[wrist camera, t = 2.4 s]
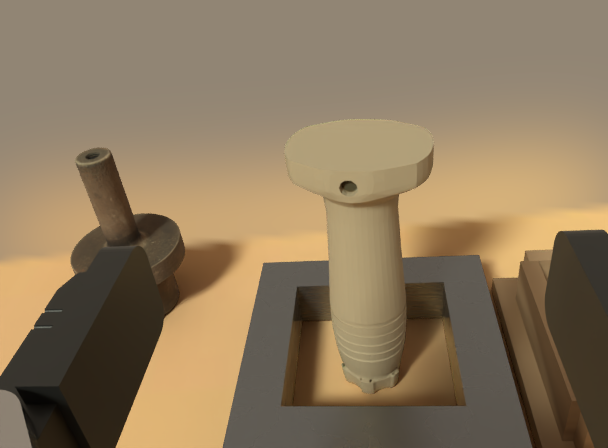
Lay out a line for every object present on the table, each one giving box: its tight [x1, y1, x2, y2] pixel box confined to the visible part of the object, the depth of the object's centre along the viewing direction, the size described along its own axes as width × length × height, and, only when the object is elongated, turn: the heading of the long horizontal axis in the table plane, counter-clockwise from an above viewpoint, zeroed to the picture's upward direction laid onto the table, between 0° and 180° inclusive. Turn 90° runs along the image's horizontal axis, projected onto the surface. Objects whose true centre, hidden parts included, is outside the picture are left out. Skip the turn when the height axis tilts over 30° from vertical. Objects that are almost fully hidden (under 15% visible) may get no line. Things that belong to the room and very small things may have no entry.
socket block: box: [223, 255, 532, 448], centre depth 32 cm, size 14×14×3 cm
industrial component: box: [71, 148, 185, 315], centre depth 37 cm, size 9×7×12 cm
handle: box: [284, 119, 434, 394], centre depth 29 cm, size 5×6×15 cm
